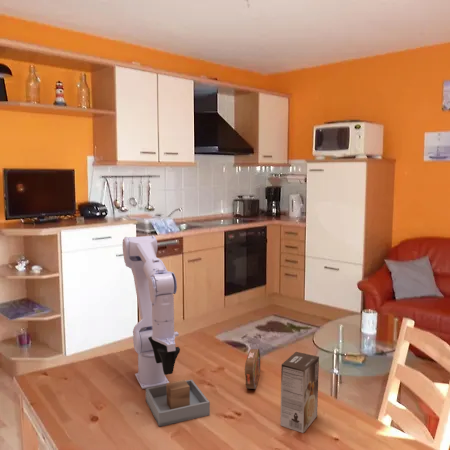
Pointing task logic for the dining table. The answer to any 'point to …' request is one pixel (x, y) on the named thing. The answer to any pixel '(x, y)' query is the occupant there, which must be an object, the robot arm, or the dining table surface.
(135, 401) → the dining table surface
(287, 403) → the coffee box
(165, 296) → the robot arm
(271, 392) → the dining table surface
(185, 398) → the block
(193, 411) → the bin
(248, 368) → the tin
